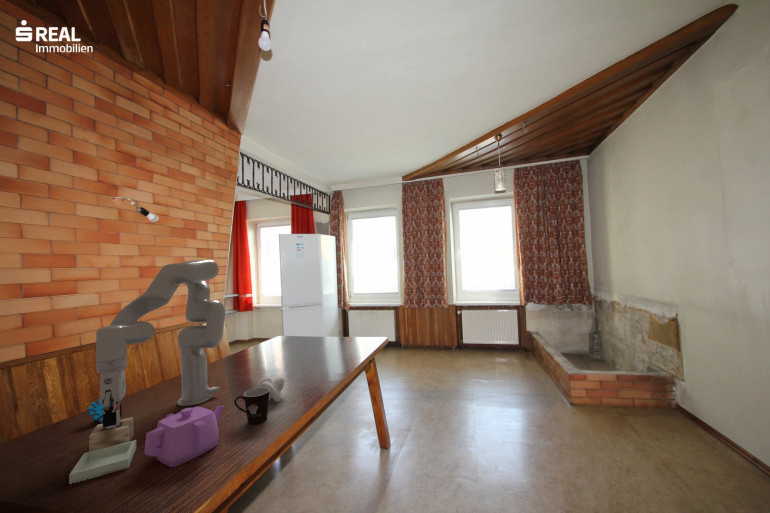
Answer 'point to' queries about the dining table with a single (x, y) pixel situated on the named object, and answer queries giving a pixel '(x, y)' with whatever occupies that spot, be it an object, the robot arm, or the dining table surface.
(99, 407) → the gear
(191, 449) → the teakettle
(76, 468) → the tray
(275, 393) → the grey torus knot
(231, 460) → the dining table surface
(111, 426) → the metal peg
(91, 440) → the socket block
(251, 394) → the coffee mug
